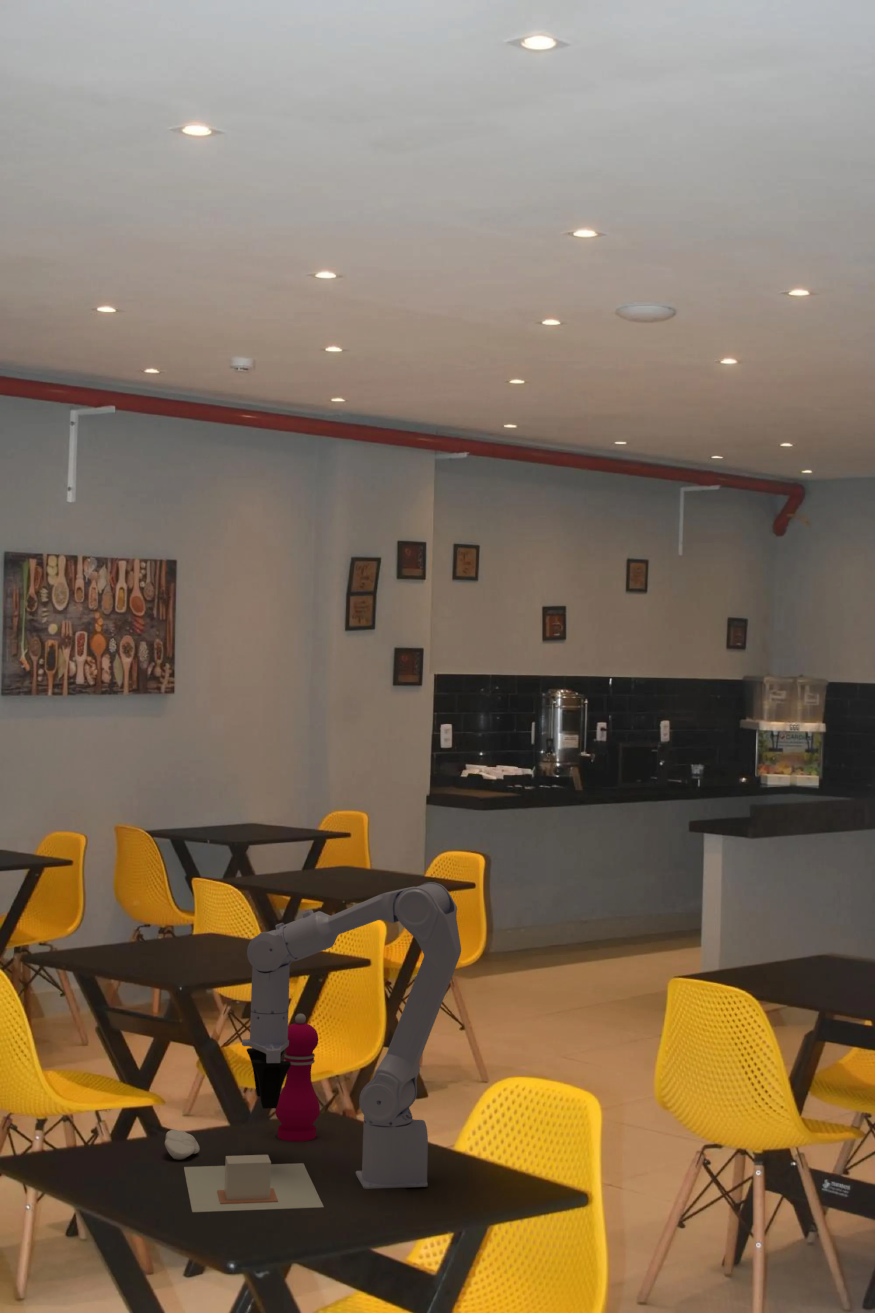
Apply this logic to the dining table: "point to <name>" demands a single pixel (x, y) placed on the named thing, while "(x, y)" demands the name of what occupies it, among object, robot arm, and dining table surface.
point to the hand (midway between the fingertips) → (266, 1102)
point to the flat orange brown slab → (224, 1201)
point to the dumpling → (180, 1144)
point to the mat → (288, 1187)
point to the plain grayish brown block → (247, 1177)
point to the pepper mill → (299, 1085)
